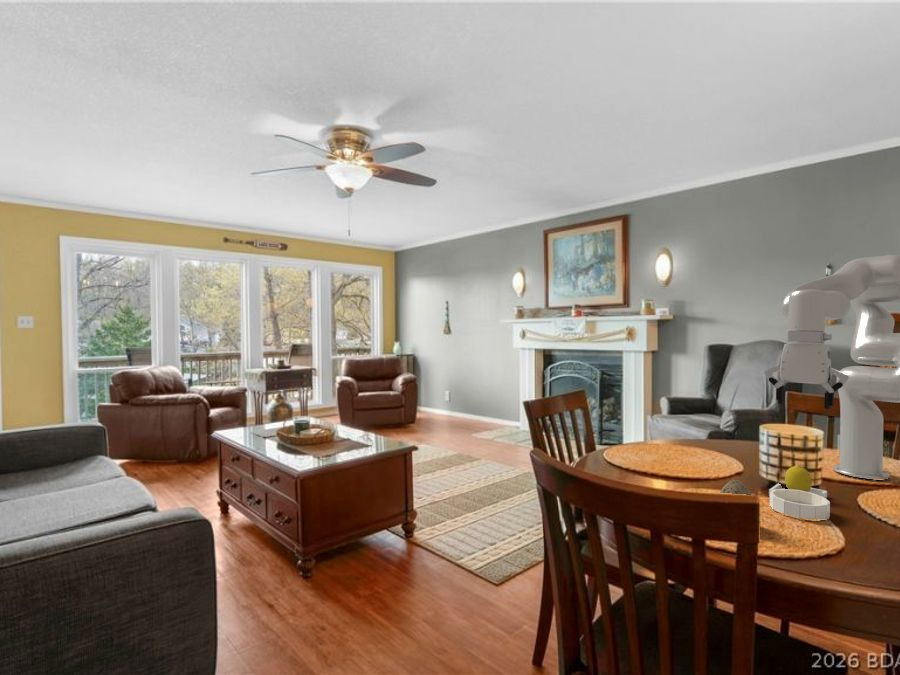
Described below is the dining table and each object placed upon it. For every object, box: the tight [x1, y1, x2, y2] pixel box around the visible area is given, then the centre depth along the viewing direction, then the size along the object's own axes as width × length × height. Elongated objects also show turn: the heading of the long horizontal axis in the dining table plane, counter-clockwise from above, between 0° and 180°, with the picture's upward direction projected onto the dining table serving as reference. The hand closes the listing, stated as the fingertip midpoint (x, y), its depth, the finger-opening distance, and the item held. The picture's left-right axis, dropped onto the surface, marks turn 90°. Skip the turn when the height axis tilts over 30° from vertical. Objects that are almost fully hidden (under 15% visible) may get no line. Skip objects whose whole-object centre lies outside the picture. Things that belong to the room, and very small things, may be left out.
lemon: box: [784, 464, 813, 492], centre depth 121 cm, size 6×6×8 cm
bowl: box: [769, 488, 831, 521], centre depth 111 cm, size 11×11×4 cm
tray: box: [768, 482, 828, 499], centre depth 121 cm, size 10×10×2 cm
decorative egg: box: [719, 479, 753, 496], centre depth 104 cm, size 7×7×10 cm
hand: (803, 405), depth 121 cm, fingers open, 9 cm apart
